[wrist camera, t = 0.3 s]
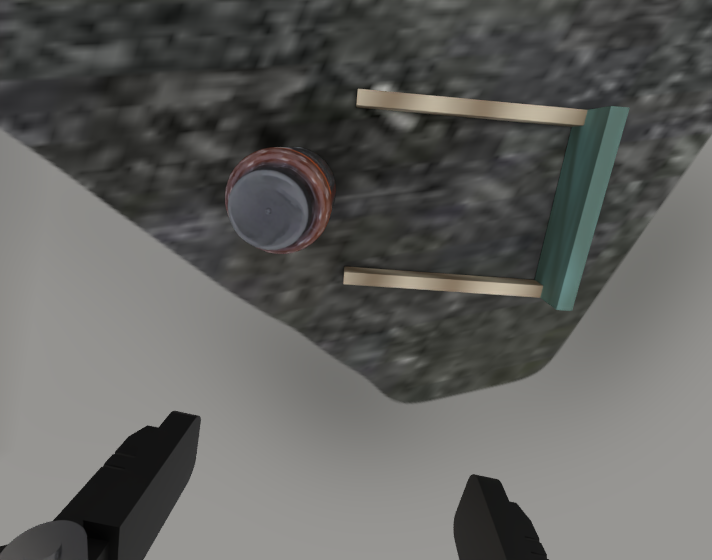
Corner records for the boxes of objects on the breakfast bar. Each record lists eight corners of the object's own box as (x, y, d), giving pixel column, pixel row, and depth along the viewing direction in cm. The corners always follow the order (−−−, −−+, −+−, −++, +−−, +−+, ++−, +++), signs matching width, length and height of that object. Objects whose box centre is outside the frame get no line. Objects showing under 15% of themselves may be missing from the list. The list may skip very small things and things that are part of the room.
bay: (343, 278, 32) (343, 295, 28) (357, 92, 27) (358, 82, 23) (545, 292, 32) (571, 310, 29) (591, 113, 28) (629, 107, 24)
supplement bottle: (274, 133, 28) (228, 122, 17) (348, 167, 29) (349, 177, 18) (247, 208, 30) (191, 241, 19) (318, 238, 31) (303, 286, 20)
